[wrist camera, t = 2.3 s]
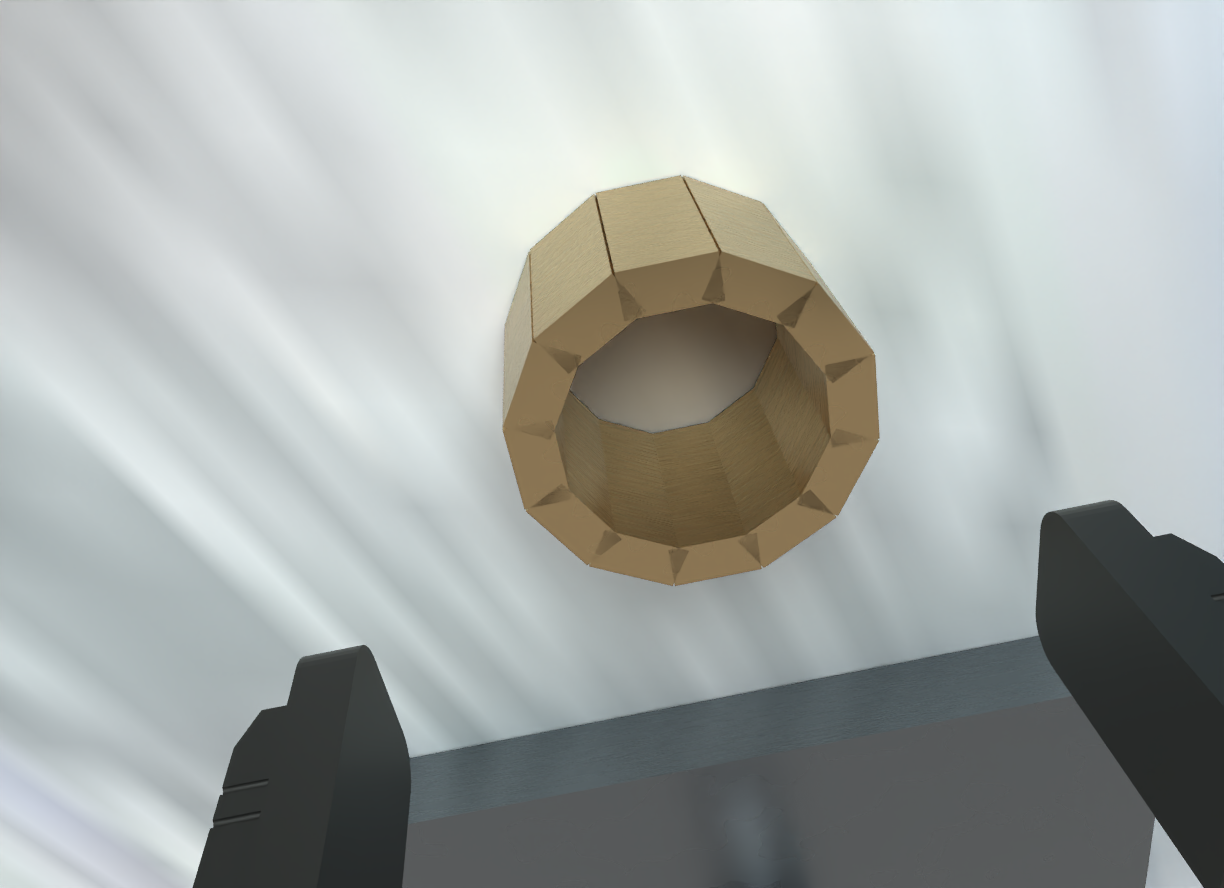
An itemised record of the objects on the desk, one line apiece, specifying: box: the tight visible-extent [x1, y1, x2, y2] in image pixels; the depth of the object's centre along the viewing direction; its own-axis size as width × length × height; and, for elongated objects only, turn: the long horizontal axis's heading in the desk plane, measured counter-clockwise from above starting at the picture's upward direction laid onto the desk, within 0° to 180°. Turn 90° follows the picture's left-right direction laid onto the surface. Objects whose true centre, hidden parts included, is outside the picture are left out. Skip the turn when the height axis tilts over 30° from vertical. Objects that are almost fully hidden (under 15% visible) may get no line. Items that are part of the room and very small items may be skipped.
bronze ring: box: [503, 175, 879, 586], centre depth 18 cm, size 6×6×4 cm
